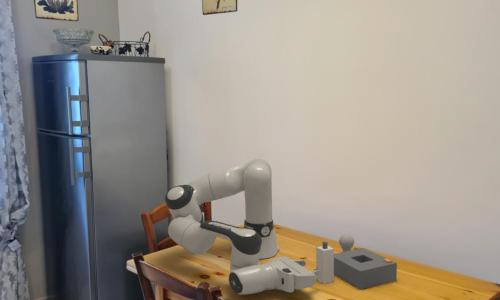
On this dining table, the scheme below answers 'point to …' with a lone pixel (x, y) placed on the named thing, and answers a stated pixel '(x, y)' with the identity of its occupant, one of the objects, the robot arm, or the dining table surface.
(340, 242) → the light bulb
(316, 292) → the dining table surface
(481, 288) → the dining table surface
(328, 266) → the plug
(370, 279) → the socket housing
